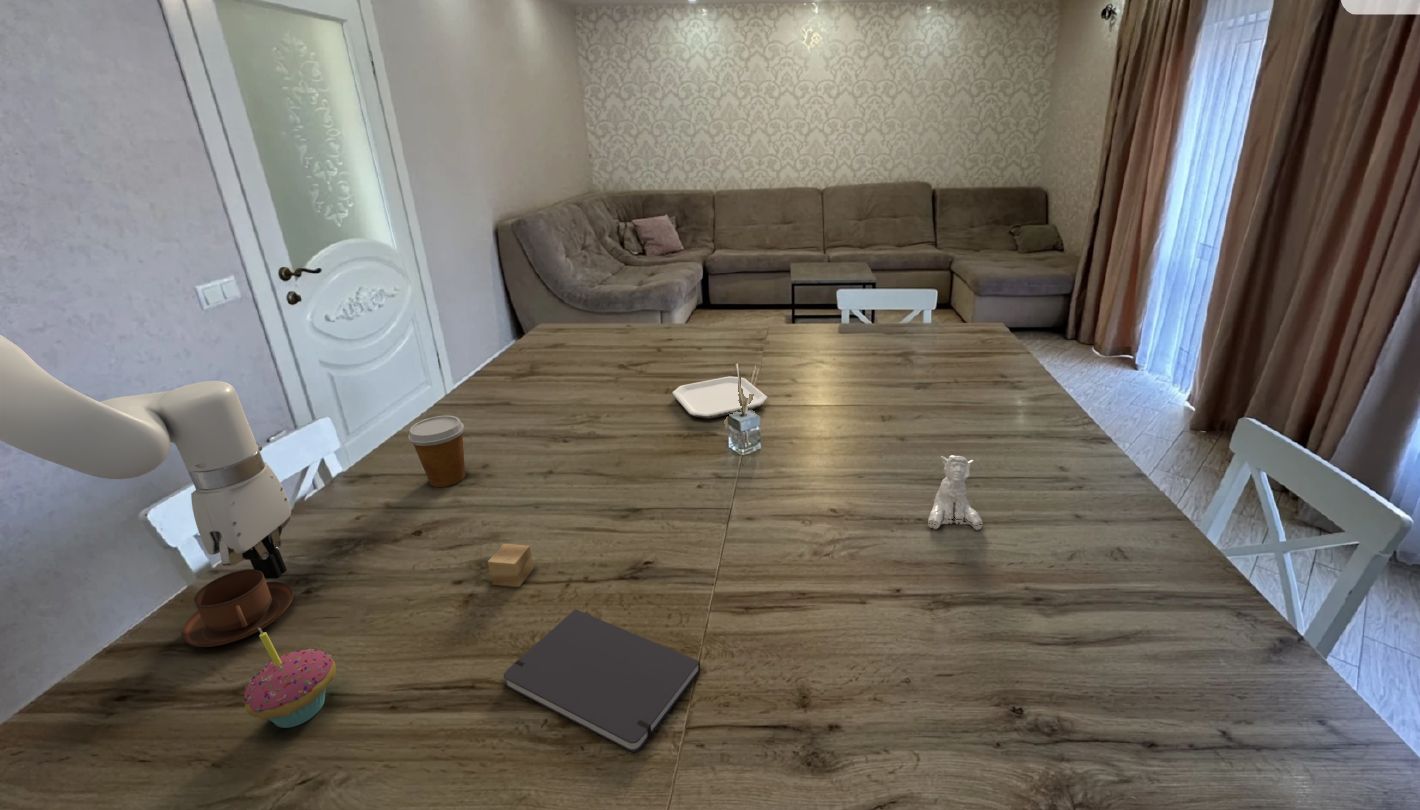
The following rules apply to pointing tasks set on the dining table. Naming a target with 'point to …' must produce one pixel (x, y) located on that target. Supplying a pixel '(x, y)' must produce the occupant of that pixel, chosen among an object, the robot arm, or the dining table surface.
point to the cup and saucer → (235, 608)
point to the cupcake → (289, 685)
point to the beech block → (511, 565)
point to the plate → (716, 397)
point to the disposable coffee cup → (440, 449)
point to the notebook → (603, 678)
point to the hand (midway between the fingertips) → (272, 574)
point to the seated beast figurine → (954, 496)
